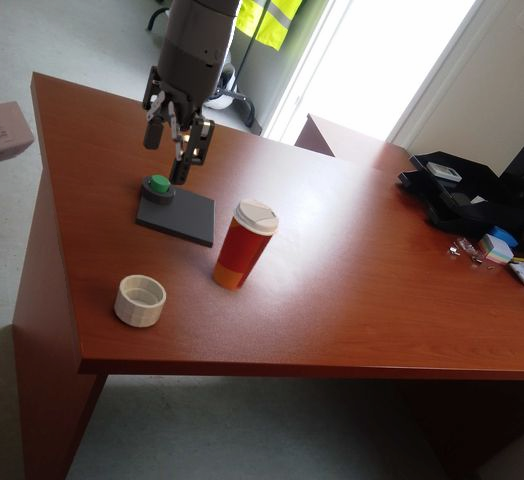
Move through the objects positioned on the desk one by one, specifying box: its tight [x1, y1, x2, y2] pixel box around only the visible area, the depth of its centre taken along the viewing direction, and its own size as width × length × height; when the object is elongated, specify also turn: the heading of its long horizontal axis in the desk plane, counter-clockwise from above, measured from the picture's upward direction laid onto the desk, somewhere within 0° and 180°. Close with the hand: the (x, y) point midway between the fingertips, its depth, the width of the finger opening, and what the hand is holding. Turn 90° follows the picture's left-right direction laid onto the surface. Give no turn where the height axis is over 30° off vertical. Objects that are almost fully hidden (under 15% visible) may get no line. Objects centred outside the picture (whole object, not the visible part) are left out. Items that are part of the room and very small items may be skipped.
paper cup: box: [212, 198, 280, 291], centre depth 75 cm, size 8×8×14 cm
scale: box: [134, 175, 216, 249], centre depth 85 cm, size 15×15×3 cm
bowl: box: [113, 274, 167, 328], centre depth 64 cm, size 6×6×4 cm
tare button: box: [150, 174, 170, 193], centre depth 84 cm, size 3×3×2 cm
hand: (162, 165), depth 65 cm, fingers open, 8 cm apart
